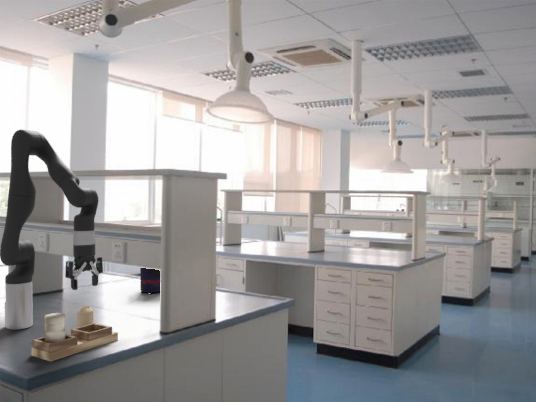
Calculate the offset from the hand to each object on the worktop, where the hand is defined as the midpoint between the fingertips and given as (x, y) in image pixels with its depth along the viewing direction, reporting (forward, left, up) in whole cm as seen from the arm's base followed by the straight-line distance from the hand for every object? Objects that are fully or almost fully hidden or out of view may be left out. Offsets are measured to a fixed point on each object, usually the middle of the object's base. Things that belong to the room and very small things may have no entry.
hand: (84, 287), depth 179 cm
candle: (0, 0, -17) cm, 17 cm away
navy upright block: (-35, +67, -17) cm, 78 cm away
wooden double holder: (+10, -11, -17) cm, 23 cm away
